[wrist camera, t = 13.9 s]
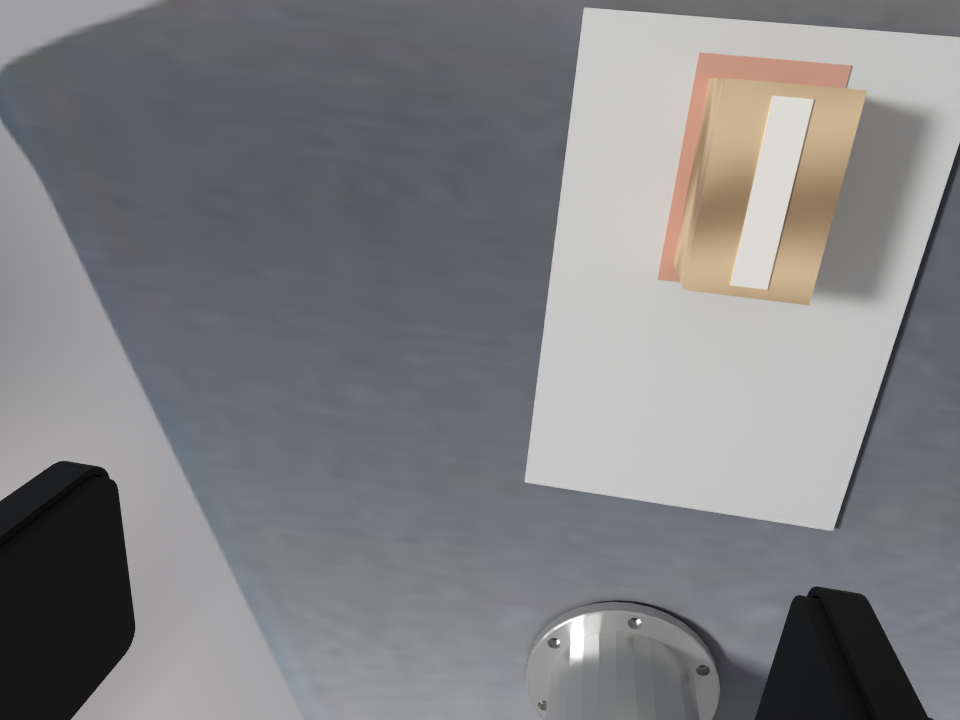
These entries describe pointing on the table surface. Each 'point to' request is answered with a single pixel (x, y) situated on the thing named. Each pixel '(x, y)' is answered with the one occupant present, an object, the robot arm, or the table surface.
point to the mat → (721, 318)
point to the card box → (765, 187)
